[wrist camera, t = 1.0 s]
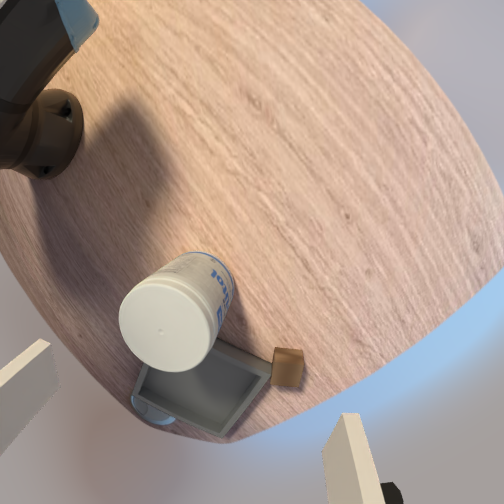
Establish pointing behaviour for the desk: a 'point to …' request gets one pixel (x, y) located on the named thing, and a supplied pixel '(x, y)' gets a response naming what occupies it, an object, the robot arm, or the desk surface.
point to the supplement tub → (177, 311)
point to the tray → (206, 388)
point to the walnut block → (287, 367)
